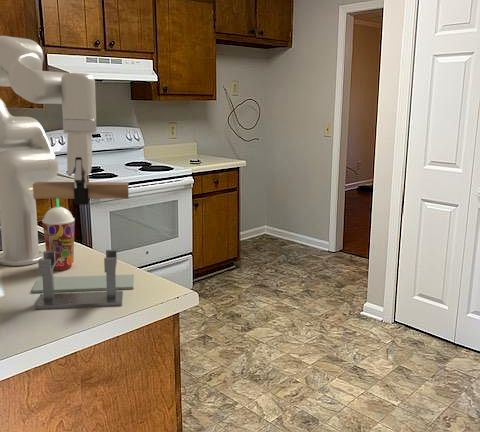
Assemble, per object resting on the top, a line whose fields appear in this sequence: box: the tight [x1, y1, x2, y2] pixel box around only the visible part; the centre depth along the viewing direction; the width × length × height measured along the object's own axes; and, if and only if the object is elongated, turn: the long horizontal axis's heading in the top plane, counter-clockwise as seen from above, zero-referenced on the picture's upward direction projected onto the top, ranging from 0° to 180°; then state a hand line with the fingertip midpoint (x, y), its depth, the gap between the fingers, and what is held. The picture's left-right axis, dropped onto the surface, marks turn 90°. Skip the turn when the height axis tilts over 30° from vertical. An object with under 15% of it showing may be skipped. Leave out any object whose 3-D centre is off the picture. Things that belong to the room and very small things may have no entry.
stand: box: [34, 249, 124, 310], centre depth 114 cm, size 7×19×11 cm, turn 101°
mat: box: [31, 274, 135, 294], centre depth 126 cm, size 9×24×1 cm, turn 101°
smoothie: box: [41, 199, 76, 271], centre depth 136 cm, size 8×8×20 cm
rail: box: [32, 181, 130, 200], centre depth 121 cm, size 4×22×4 cm, turn 101°
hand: (82, 201), depth 121 cm, fingers closed on rail, 3 cm apart
